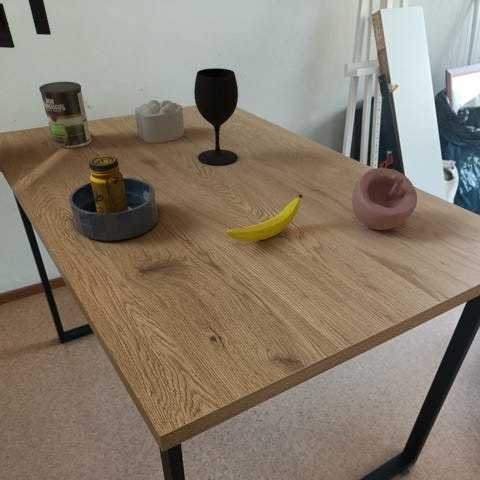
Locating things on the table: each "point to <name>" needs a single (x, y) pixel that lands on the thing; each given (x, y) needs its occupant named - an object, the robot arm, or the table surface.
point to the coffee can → (66, 113)
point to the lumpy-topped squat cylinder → (159, 121)
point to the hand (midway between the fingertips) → (26, 40)
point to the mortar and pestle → (383, 199)
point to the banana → (267, 225)
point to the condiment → (108, 185)
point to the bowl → (119, 222)
